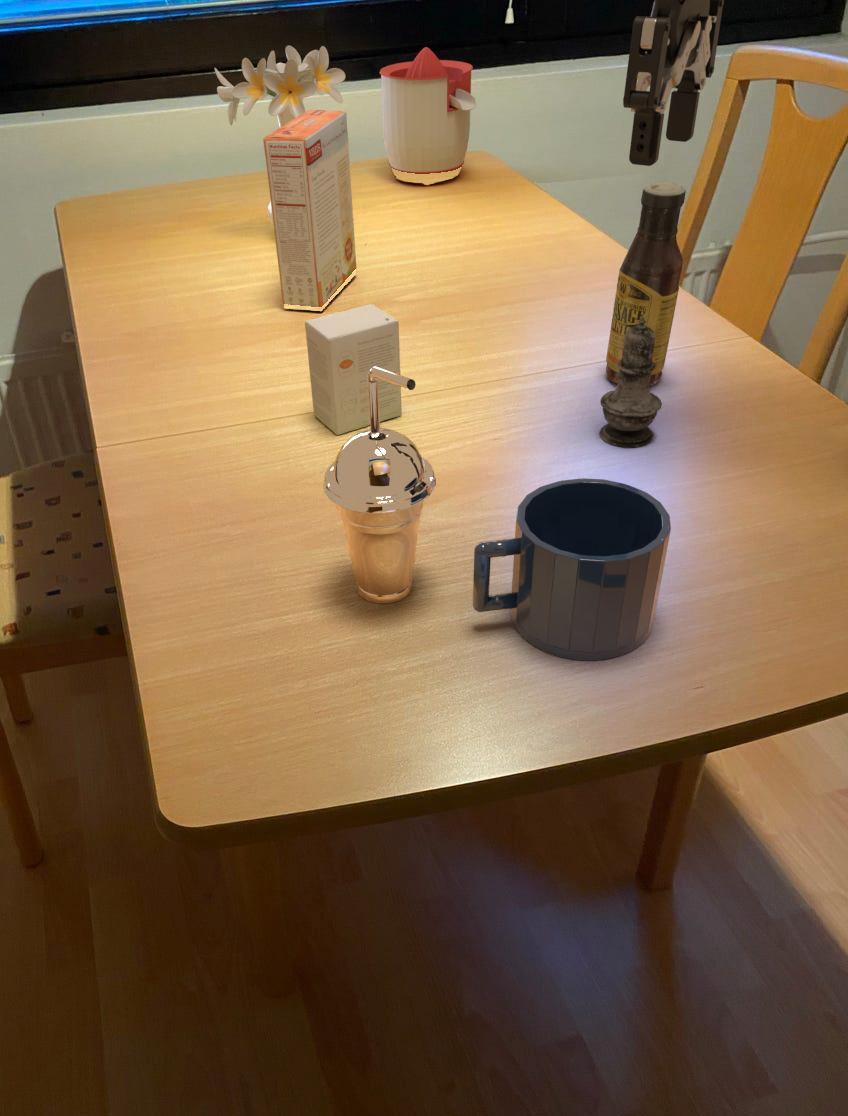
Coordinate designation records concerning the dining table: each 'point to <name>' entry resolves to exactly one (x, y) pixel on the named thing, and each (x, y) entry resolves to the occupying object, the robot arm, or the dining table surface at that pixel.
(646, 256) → the sauce bottle
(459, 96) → the citrus juicer
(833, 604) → the dining table surface
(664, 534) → the mug
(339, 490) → the cup with straw
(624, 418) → the salt shaker
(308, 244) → the cracker box
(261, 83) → the flower vase
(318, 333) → the small box
